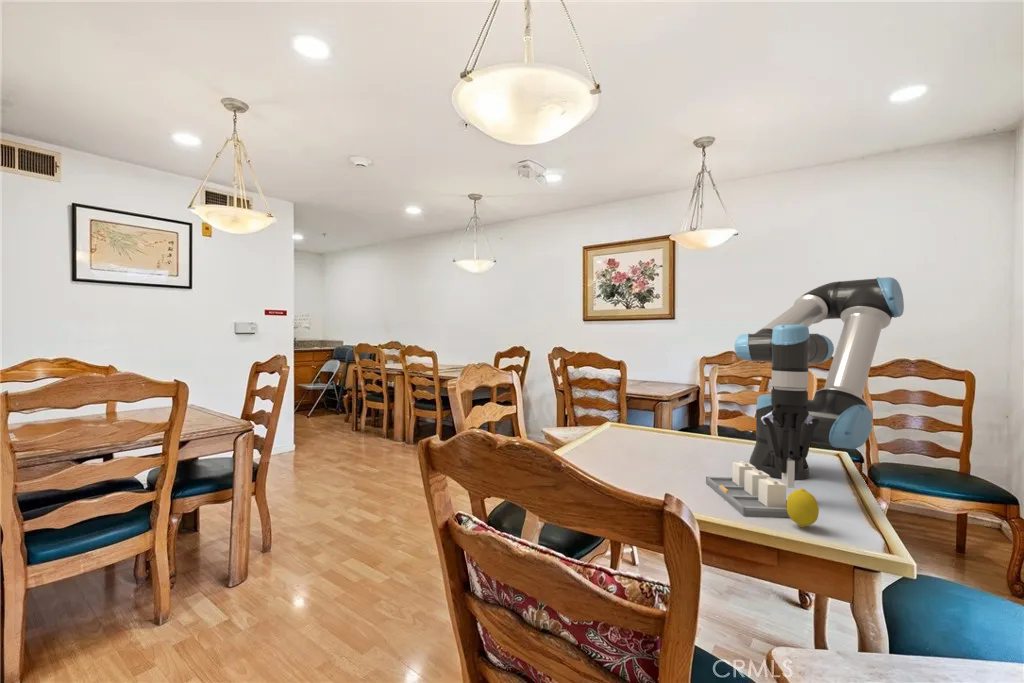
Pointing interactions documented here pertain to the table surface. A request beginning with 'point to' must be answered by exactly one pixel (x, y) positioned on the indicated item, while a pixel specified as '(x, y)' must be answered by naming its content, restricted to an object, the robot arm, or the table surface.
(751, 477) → the cream ridged block
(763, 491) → the tab
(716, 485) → the frame
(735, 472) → the tab
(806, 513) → the lemon
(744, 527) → the table surface
